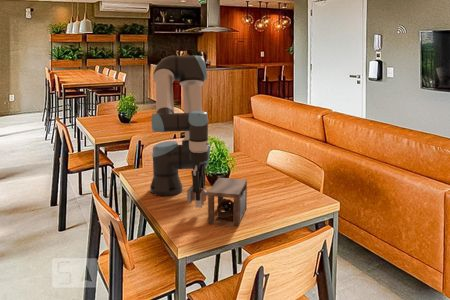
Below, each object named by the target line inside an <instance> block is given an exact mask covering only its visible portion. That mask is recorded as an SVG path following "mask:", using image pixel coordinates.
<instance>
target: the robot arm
mask: <svg viewBox="0 0 450 300" xmlns="http://www.w3.org/2000/svg"><path fill="white" fill-rule="evenodd" d="M152 76H153V77H152V78H153V81H154V83H155V113H152V114H151V116H150V117H151V118H150V119H151V122H150V123H151V130H152V132H156V133H158V132H159V133H166V132H167V133H168V132H170V133H171V132H173V133H174V132H184V138H183V139H182V140H181V144H178V142H177V141H175V140H173V141H172V140H169V141H168V140H167V141H162V142H159V143H156V144H155V145H154V146H153V147H152V155H151V156H152V169H153V170H152V172H153V173H152V174H153V177H152V180H151V183H150V188H149V190H150V191H151V192H152V193H153V194H152V193H151V192H150V193H151V194H152V195H154V194H156V195H155V196H158V195H163V196H162V197H169V196H168V195H171V196H175V194H176V195H178V194H181V193H182V192H183V184H182V181H181V179H180V176H179V170H191V178H192V185H193V193H195V201H194V203H195V204H194V206H195V208H199V209H201V208H203V206H205V205H204V204H205V201H202V192H201V188H206V189H207V187H206V173H207V171H206V168H207V167H209V162H210V155H211V153H210V152H211V143H210V142H209V116H208V112H207V111H203V105H202V104H203V103H202V102H203V101H202V99H203V98H202V86H203V85H204V84H205V81H206V80H207V78H208V74H207V66H206V61H205V58H204V57H203V56H201V55H193V54H192V55H169V56H166V57H164V58H163V59H161V60H160V61H159V62H158V63H156V65H155V68H154V70H153V75H152ZM174 81H179V85H180V86H181V87H182V93H183V94H182V96H183V112H178V113H177V112H175V106H174V105H175V104H174V89H173V88H174V87H173V83H174Z"/></svg>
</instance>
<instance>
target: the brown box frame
mask: <svg viewBox="0 0 450 300" xmlns="http://www.w3.org/2000/svg"><path fill="white" fill-rule="evenodd" d="M208 191H209V190H207V187H206V188H201V192H202V201H204V202H206V200H207V197H208ZM186 195H187V196H186V198H187V199H186V201H187V202H186V203H188V204H191V203H192V202H193V201H194V202H195V193H193V184H192V185H191V186H190V187H189V188H188V189H187V190H186ZM216 197H217V198H218V197H223V198H230V199H234V197H226V196H214V198H216ZM245 198H246V189H243V190H242V192H241V194H240V220H239V222H241V220H242V218H243V216H244V213H245V212H246V211H245Z"/></svg>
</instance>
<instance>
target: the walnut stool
mask: <svg viewBox="0 0 450 300" xmlns="http://www.w3.org/2000/svg"><path fill="white" fill-rule="evenodd" d="M247 186H248V179H245V178H243V179H241V178H230V177H229V178H228V177H217V179H216V181H215V182H214V183H213V185H212V186H211V187H210V189H208V190H207V191H208V196H207V224H208V225H214V226H226V227H235V228H237V227H240V221H241V220H240V194H241V192H242V190H243V189H246V198H245V212H246V211H247V205H248V204H247V201H248V200H247V199H248V197H247V195H248V194H247V192H248V187H247ZM215 196H226V197H225V198H228V197H234V198H233V202H234V206H233V215H232V216H233V221H228V220H221V219H219V220H218V219H215ZM222 199H224V197H217V205H218V204H219V203H220V202H221V201H222ZM219 210H224V209H223V207H222V205H221V206H220V207H219ZM239 220H240V221H239Z"/></svg>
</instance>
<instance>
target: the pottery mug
mask: <svg viewBox="0 0 450 300" xmlns="http://www.w3.org/2000/svg"><path fill="white" fill-rule="evenodd" d="M221 205H222V207H223V209H222V210H223V211H222V210H221V209H219V207H220V206H221ZM233 206H234V200H231V199H227V198H226V197H223V199H222V201H221V202H220V203H219V204H218V203H217V206H216V209H217V210H216V216H217V220H218V219H219V220H220V219H221V218H223V219H226V218H229V217H231V216H233Z"/></svg>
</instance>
